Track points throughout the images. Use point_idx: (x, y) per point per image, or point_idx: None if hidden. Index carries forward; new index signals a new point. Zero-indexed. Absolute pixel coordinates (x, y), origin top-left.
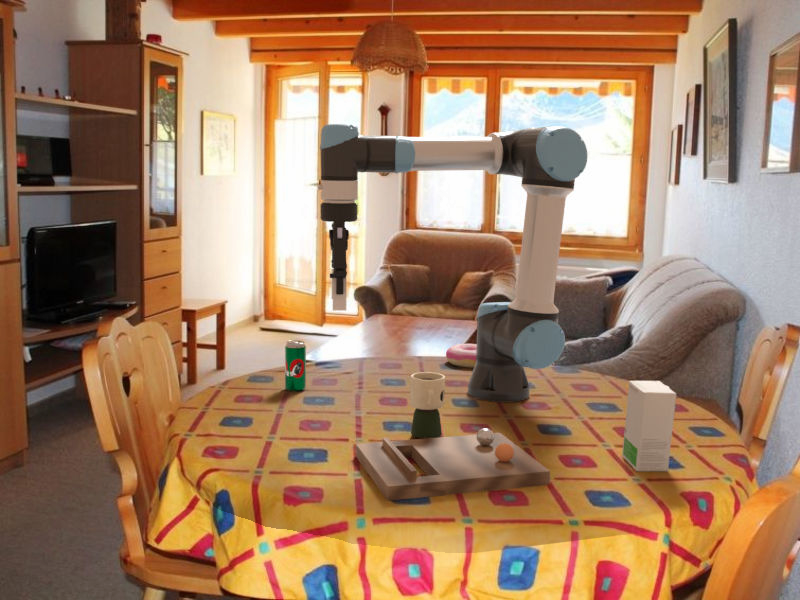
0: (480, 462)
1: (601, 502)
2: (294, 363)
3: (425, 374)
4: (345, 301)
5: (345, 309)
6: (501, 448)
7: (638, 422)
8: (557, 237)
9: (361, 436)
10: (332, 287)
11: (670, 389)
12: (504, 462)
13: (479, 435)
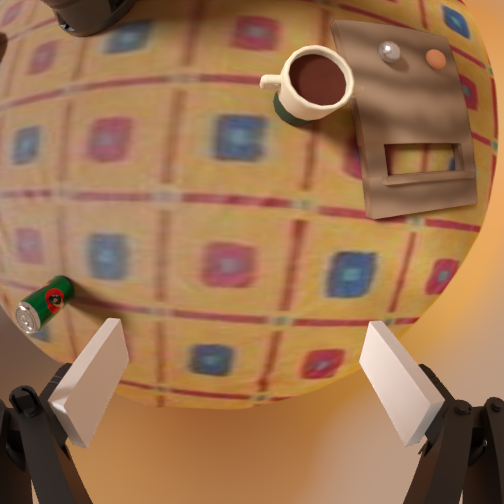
0: (434, 86)
1: (463, 30)
2: (53, 308)
3: (288, 74)
4: (394, 340)
5: (382, 324)
6: (445, 63)
7: None
8: None
9: (287, 199)
10: (113, 387)
11: None
12: None
13: (397, 59)
